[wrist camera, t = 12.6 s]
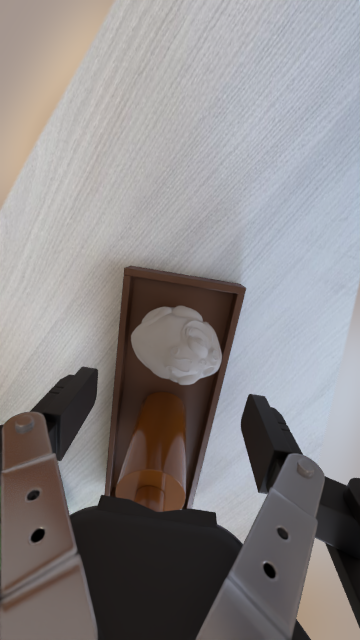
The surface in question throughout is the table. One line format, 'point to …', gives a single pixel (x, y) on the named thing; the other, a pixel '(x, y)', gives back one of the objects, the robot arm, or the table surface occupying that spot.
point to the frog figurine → (177, 345)
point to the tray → (139, 381)
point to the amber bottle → (156, 455)
